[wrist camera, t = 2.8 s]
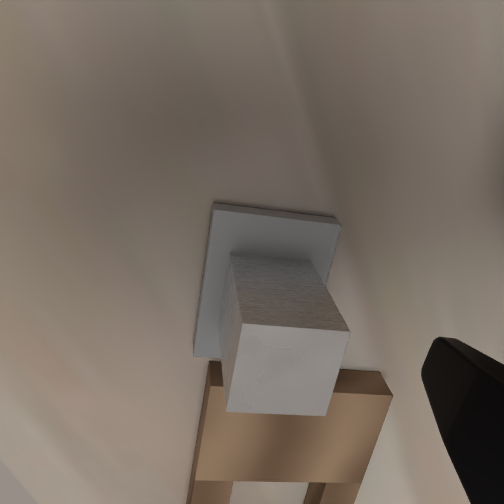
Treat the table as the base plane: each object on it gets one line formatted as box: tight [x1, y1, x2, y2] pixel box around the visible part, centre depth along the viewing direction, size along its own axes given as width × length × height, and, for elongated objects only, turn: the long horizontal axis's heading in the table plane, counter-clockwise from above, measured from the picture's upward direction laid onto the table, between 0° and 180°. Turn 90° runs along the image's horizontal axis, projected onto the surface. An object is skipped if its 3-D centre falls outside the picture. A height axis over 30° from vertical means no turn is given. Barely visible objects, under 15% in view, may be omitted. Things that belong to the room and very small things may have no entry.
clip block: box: [218, 253, 350, 416], centre depth 20 cm, size 4×4×6 cm
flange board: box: [186, 361, 393, 504], centre depth 28 cm, size 10×14×2 cm
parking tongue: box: [193, 203, 341, 358], centre depth 23 cm, size 6×8×1 cm
